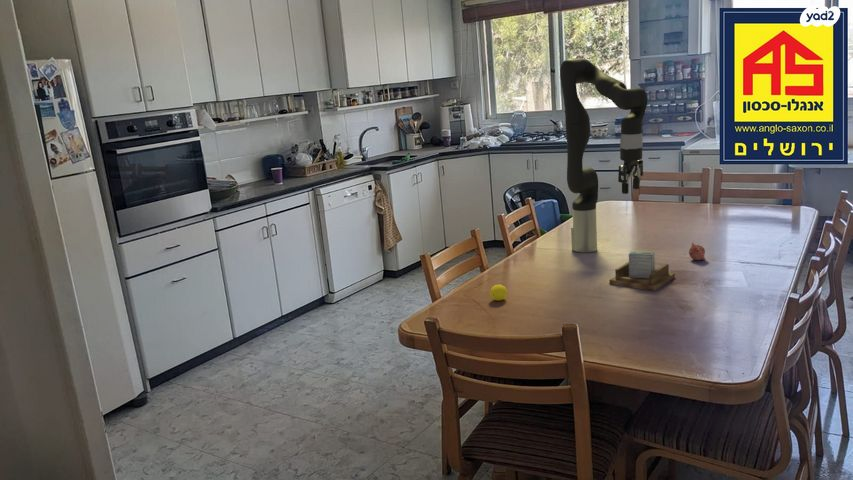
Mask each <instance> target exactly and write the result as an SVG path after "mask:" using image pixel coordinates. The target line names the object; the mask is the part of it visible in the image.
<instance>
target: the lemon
mask: <svg viewBox="0 0 853 480" xmlns="http://www.w3.org/2000/svg"><path fill="white" fill-rule="evenodd" d="M489 295H490V297H491V298H492V300H494V301H497V302H499V301H503V300H504V299H505V298H506V297H507V295H508V290H507V288H506V286H504V285H502V284H495V285H493V286H492V287H491V289H490V291H489Z"/></svg>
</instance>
